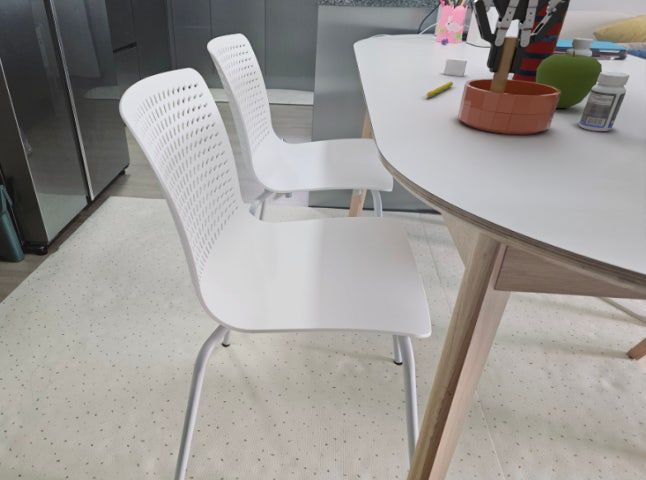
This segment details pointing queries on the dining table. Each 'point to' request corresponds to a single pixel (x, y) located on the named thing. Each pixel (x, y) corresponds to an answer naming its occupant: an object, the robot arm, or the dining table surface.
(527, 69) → the red striped curved tube
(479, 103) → the bowl
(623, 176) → the dining table surface
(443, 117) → the dining table surface
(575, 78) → the apple
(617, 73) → the pill bottle
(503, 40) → the robot arm
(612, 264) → the dining table surface
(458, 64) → the eraser
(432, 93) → the pencil
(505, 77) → the stirring stick
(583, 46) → the supplement bottle
